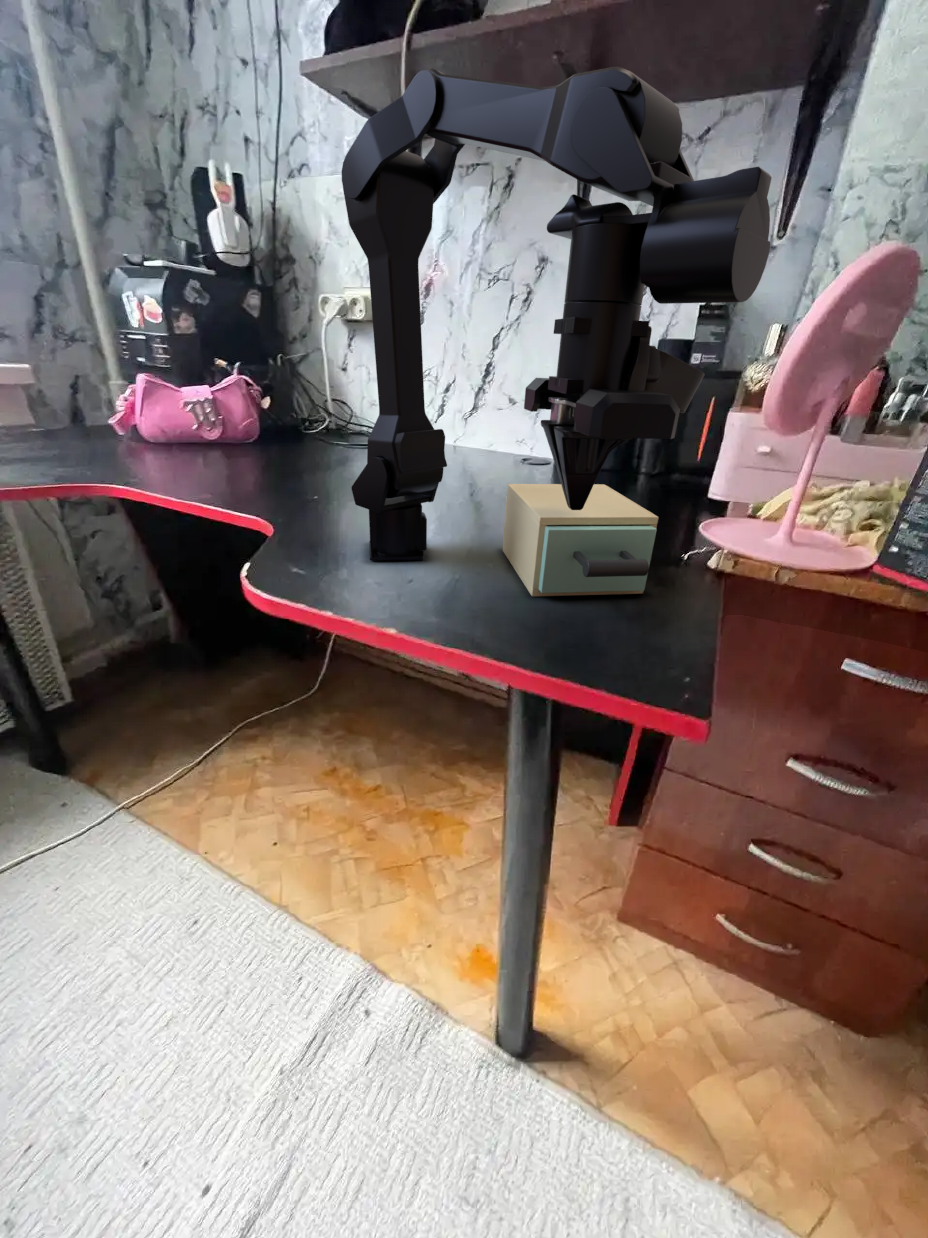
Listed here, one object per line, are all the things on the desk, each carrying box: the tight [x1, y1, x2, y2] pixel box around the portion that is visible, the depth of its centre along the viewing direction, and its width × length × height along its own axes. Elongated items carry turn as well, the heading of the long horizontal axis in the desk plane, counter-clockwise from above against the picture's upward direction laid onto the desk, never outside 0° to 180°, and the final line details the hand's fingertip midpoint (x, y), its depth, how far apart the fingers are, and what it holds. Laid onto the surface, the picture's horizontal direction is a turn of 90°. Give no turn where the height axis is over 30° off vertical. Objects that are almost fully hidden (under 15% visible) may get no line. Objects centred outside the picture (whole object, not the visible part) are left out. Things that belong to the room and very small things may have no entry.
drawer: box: [538, 525, 658, 593], centre depth 60 cm, size 18×11×7 cm, turn 9°
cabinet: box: [502, 483, 659, 597], centre depth 63 cm, size 15×13×9 cm
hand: (575, 509), depth 48 cm, fingers closed
